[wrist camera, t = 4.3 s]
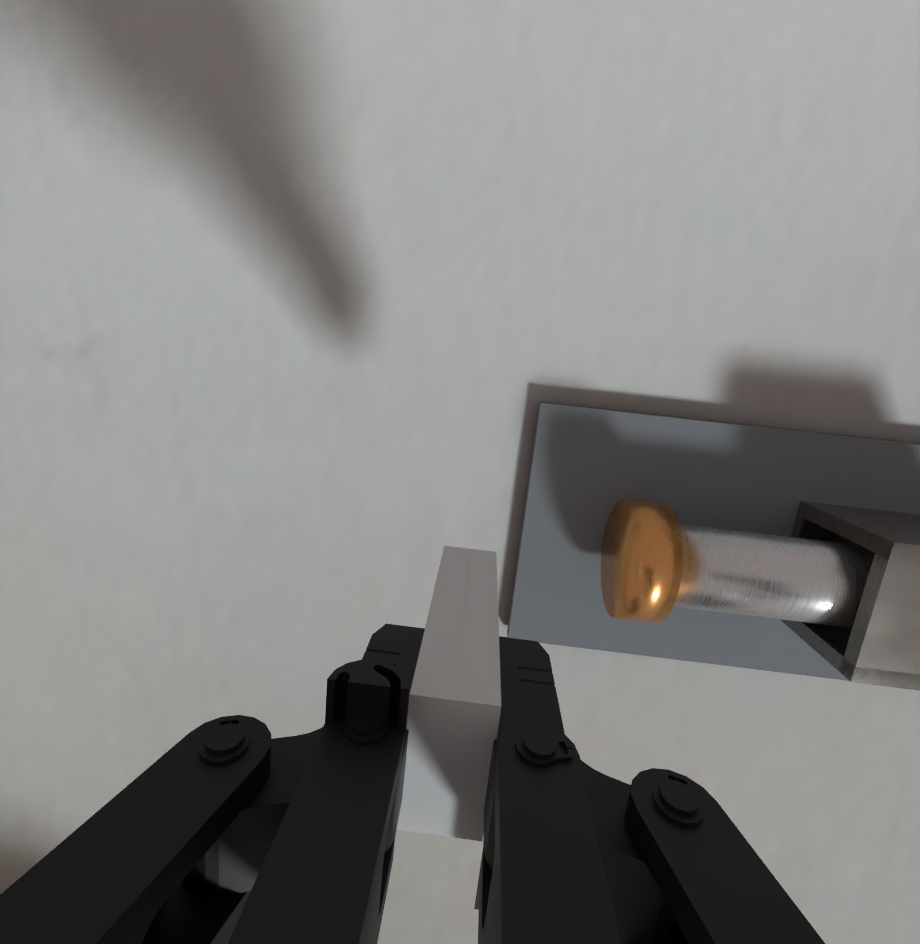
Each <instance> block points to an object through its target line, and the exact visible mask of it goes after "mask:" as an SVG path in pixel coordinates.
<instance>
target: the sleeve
mask: <svg viewBox="0 0 920 944" xmlns="http://www.w3.org/2000/svg"><path fill="white" fill-rule="evenodd" d="M791 537H795V538H804V539H812V540H821V541H829V542H838V543H847V544H855V545H860V546H862V547H864V548H866V549H868V550H870V551H872V552H874V553H875V555H874V558H873V562H872V565H871V568H870V572H869V575H868V578H867V581H866V585H865V588H864V591H863V595H862V598H861V601H860V605H859V608H858V611H857V615H856V618H855V621H854V624H853V628H849V627H840V626H832V625H824V624H816V623H807V622H799V621H791V620H782V619H780V620H781V621H782V622H783V623H784V624H785V625H786V626H788V627H789V628H790V629H791V630H792V631H793V632H794V633H796V634H797V635H798V636H799V637H800V638H801V639H802V640H804V641H805V642H806V643H807V644H808V645H809V646H810V647H812V648H813V649H814V650H815V651H816V652H817V653H818V654H820V655H821V656H822V657H823V658H824V659H825V660H826V661H828V662H829V663H830V664H831V665H832V666H833V667H834V668H836V669H837V670H838V671H839V672H840V673H841V674H842V675H843V676H845V677H846V678H847V679H848V680H849V681H850V682H856V683H864V684H872V685H880V686H888V687H896V688H904V689H913V690H920V515H919V514H910V513H901V512H892V511H884V510H875V509H866V508H857V507H849V506H840V505H831V504H823V503H814V502H805V501H800V503H799V507H798V511H797V514H796V518H795V522H794V526H793V530H792V534H791Z"/></svg>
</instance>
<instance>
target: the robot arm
mask: <svg viewBox="0 0 920 944" xmlns="http://www.w3.org/2000/svg"><path fill="white" fill-rule="evenodd" d="M554 684H555V683H554V678H553V674H552V668H551V663H550V658H549V655H548V654H547V652H546V651H545V650H544V649H543V647H542V646H541V645H540V644H539V643H538V641H531V640H523V639H515V638H507V637H500V636H499V622H498V592H497V563H496V552H492V551H483V550H475V549H467V548H459V547H450V546H444V550H443V554H442V558H441V563H440V567H439V571H438V575H437V580H436V584H435V588H434V592H433V597H432V601H431V605H430V610H429V614H428V618H427V622H426V627H425V629H423V628H415V627H407V626H400V625H392V624H385V625H384V626H383V627H382V628H380V629H379V630H378V631H376V632H375V633H374V634H373V635H372V637H371V639H370V642H369V644H368V647H367V650H366V651H365V654H364V656H363V659H362V660H359V661H355V662H350V663H347V664H345V665H343V666H341V667H339V668H337V669H336V670H335V671H334V672H333V673H332V674H331V675H330V676H329V678H328V679H327V697H326V716H325V724H324V727H322V728H320V729H318V730H316V731H313V732H310V733H308V734H303V735H298V736H292V737H283V738H275V739H271V733H270V731H269V730H268V728H267V726H266V724H264V723H263V722H261V721H259V720H257V719H256V718H254V717H248V716H242V715H235V716H226V717H220V718H217V719H215V720H212V721H209V722H206V723H204V724H202V725H201V726H199V727H198V728H196V729H195V730H193V731H192V732H190V733H189V734H188V735H186V736H185V737H184V738H183V739H182V740H181V741H179V742H178V743H177V744H176V745H175V746H174V747H172V748H171V749H170V750H169V751H168V752H167V753H165V754H164V755H163V756H162V757H161V758H160V759H158V760H157V761H156V762H155V763H154V764H153V765H151V766H150V767H149V768H148V769H147V770H146V771H144V772H143V773H142V774H141V775H140V776H139V777H137V778H136V779H135V780H134V781H133V782H132V783H130V784H129V785H128V786H127V787H126V788H125V789H123V790H122V791H121V792H120V793H119V794H117V795H116V796H115V797H114V798H113V799H112V800H110V801H109V802H108V803H107V804H106V805H105V806H103V807H102V808H101V809H100V810H99V811H98V812H96V813H95V814H94V815H93V816H92V817H91V818H89V819H88V820H87V821H86V822H85V823H84V824H82V825H81V826H80V827H79V828H78V829H77V830H75V831H74V832H73V833H72V834H71V835H70V836H68V837H67V838H66V839H65V840H64V841H63V842H61V843H60V844H59V845H58V846H57V847H56V848H54V849H53V850H52V851H51V852H50V853H49V854H47V855H46V856H45V857H44V858H43V859H42V860H40V861H39V862H38V863H37V864H36V865H35V866H33V867H32V868H31V869H30V870H29V871H28V872H26V873H25V874H24V875H23V876H22V877H21V878H19V879H18V880H17V881H16V882H15V883H14V884H12V885H11V886H10V887H9V888H8V889H7V890H5V891H4V892H3V893H2V894H1V895H0V944H377V941H378V936H379V931H380V925H381V920H382V915H383V909H384V904H385V899H386V893H387V888H388V883H389V877H390V872H391V867H392V861H393V851H394V841H395V833H396V828H397V829H398V830H405V831H412V832H419V833H426V834H434V835H441V836H448V837H455V838H462V839H470V840H477V841H482V837H483V830H484V842H483V853H482V860H481V867H480V874H479V881H478V887H477V894H476V901H475V908H474V909H479V926H478V944H825V943H824V941H823V940H822V939H821V938H820V936H819V935H818V934H817V932H816V931H815V930H814V928H813V927H812V926H811V924H810V923H809V922H808V921H807V919H806V918H805V917H804V915H803V914H802V913H801V911H800V910H799V909H798V907H797V906H796V905H795V903H794V902H793V901H792V900H791V898H790V897H789V896H788V894H787V893H786V892H785V890H784V889H783V888H782V886H781V885H780V884H779V882H778V881H777V880H776V879H775V877H774V876H773V875H772V873H771V872H770V871H769V869H768V868H767V867H766V865H765V864H764V863H763V862H762V860H761V859H760V858H759V856H758V855H757V854H756V852H755V851H754V850H753V848H752V847H751V846H750V844H749V843H748V842H747V841H746V839H745V838H744V837H743V835H742V834H741V833H740V831H739V830H738V829H737V827H736V826H735V825H734V824H733V822H732V821H731V820H730V818H729V817H728V816H727V814H726V813H725V812H724V810H723V809H722V808H721V806H720V805H719V804H718V803H717V801H716V800H715V799H714V798H713V797H712V796H711V795H710V794H709V793H708V792H707V791H706V790H705V789H704V788H703V787H702V786H700V785H699V784H697V783H695V782H694V781H692V780H691V779H689V778H688V777H686V776H684V775H681V774H678V773H676V772H673V771H670V770H665V769H655V768H652V769H648V770H645V771H641V772H639V773H638V775H637V776H636V777H635V778H634V779H633V780H632V784H631V785H629V784H626V783H624V782H621V781H619V780H616V779H614V778H611V777H609V776H606V775H604V774H602V773H600V772H598V771H596V770H594V769H592V768H591V767H590V766H588V765H587V764H585V763H584V762H583V761H582V760H581V759H580V756H579V754H578V752H577V749H576V747H575V745H574V743H573V742H572V741H571V740H570V739H569V738H568V737H567V736H566V735H565V734H564V728H563V723H562V718H561V713H560V708H559V703H558V698H557V693H556V688H555V687H554Z"/></svg>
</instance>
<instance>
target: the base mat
mask: <svg viewBox="0 0 920 944" xmlns="http://www.w3.org/2000/svg"><path fill="white" fill-rule="evenodd" d="M620 500H630V501H639V502H648V503H656V504H664V505H667V506H669V507H670V508H671V509H672V511H673V512H674V514H675V516H676V518H677V521H678V524H683V525H692V526H700V527H709V528H718V529H726V530H735V531H743V532H752V533H761V534H769V535H778V536H786V537H791V534H792V530H793V526H794V522H795V518H796V514H797V511H798V507H799V503H800V501H805V502H814V503H823V504H831V505H840V506H849V507H857V508H866V509H875V510H884V511H892V512H901V513H910V514H919V515H920V444H913V443H904V442H895V441H886V440H877V439H868V438H859V437H850V436H841V435H832V434H823V433H814V432H805V431H796V430H787V429H778V428H769V427H760V426H751V425H742V424H733V423H724V422H715V421H706V420H697V419H688V418H679V417H670V416H661V415H652V414H643V413H634V412H625V411H616V410H607V409H598V408H589V407H580V406H571V405H562V404H553V403H544V402H539V409H538V416H537V423H536V430H535V437H534V444H533V451H532V458H531V466H530V473H529V480H528V487H527V494H526V501H525V508H524V516H523V523H522V530H521V537H520V544H519V551H518V558H517V565H516V573H515V580H514V587H513V594H512V601H511V608H510V615H509V623H508V630H507V636H508V638H515V639H523V640H531V641H538V642H539V643H547V644H555V645H563V646H571V647H579V648H587V649H596V650H604V651H612V652H620V653H628V654H636V655H644V656H653V657H661V658H669V659H677V660H685V661H693V662H701V663H710V664H718V665H726V666H734V667H742V668H750V669H758V670H767V671H775V672H783V673H791V674H799V675H807V676H815V677H824V678H832V679H840V680H848V679H847V678H846V677H845V676H843V675H842V674H841V673H840V672H839V671H838V670H837V669H836V668H834V667H833V666H832V665H831V664H830V663H829V662H828V661H826V660H825V659H824V658H823V657H822V656H821V655H820V654H818V653H817V652H816V651H815V650H814V649H813V648H812V647H810V646H809V645H808V644H807V643H806V642H805V641H804V640H802V639H801V638H800V637H799V636H798V635H797V634H796V633H794V632H793V631H792V630H791V629H790V628H789V627H788V626H786V625H785V624H784V623H783V622H782V621H781V620H780V619H774V618H766V617H757V616H749V615H741V614H732V613H724V612H716V611H707V610H699V609H691V608H682V607H673V609H672V611H671V612H670V614H669V616H668V617H667V618H666V619H665V620H664V621H662V622H661V623H651V622H643V621H635V620H627V619H618V618H612V617H611V616H610V615H609V614H608V612H607V610H606V608H605V605H604V601H603V596H602V589H601V552H602V544H603V538H604V532H605V528H606V524H607V521H608V518H609V515H610V513H611V511H612V509H613V507H614V505H615V504H616V503H617V502H618V501H620ZM848 681H849V680H848Z"/></svg>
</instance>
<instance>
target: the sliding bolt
mask: <svg viewBox="0 0 920 944" xmlns="http://www.w3.org/2000/svg"><path fill="white" fill-rule="evenodd" d="M874 555H875V553H874V552H872V551H870V550H868V549H866V548H864V547H862V546H860V545H855V544H847V543H838V542H829V541H821V540H812V539H804V538H795V537H786V536H778V535H769V534H761V533H752V532H743V531H735V530H726V529H718V528H709V527H700V526H692V525H683V524H678V521H677V518H676V516H675V514H674V512H673V511H672V509H671V508H670V507H669V506H667V505H664V504H656V503H648V502H639V501H630V500H620V501H618V502H617V503H616V504H615V505H614V507H613V509H612V511H611V513H610V515H609V518H608V521H607V524H606V528H605V532H604V538H603V544H602V552H601V589H602V596H603V601H604V605H605V608H606V610H607V612H608V614H609V615H610V616H611V617H612V618H618V619H627V620H635V621H643V622H651V623H661V622H662V621H664V620H665V619H666V618H667V617H668V616H669V614H670V612H671V611H672V609H673V607H682V608H691V609H699V610H707V611H716V612H724V613H732V614H741V615H749V616H757V617H766V618H774V619H782V620H791V621H799V622H807V623H816V624H824V625H832V626H840V627H849V628H853V624H854V621H855V618H856V615H857V611H858V608H859V605H860V601H861V598H862V595H863V591H864V588H865V585H866V581H867V578H868V575H869V572H870V568H871V565H872V562H873V558H874Z"/></svg>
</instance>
